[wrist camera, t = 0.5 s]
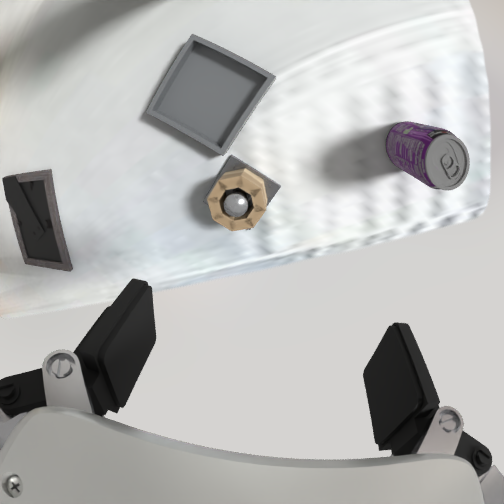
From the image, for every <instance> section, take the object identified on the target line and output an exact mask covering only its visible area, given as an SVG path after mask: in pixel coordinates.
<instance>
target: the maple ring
mask: <svg viewBox="0 0 504 504" xmlns="http://www.w3.org/2000/svg"><path fill="white" fill-rule="evenodd" d="M233 188H241V189H242V190H244V191H246V192H247V193H249V194H250V195H251V197H252V201H253V203H252V205H251V206H250V207H248V208H247V211H246V213H245V214H244V215H242V216H240V217H233V216H230V215H229V214H227V212H226V211H225V209H224V201H225V199H226V198H227V197H226V193H225V190H229V189H233ZM207 201H208V204H209V208H210V211H211V215H212V218H213V220H214V221H216V222H217V223H219V224H221V225H222V226H224V227H226V228H227V229H229V230H231V231H236V230H242V229H248V228H254V226H255V225H256V223H257V222H258V221H259V219H260V218H261V216H262V215H263V214H264V212H265V211H266V206H267V195H266V190H265V185H264V181H263V179H262V178H260V177H259V176H257V175H255V174H254V173H252V172H251V171H249V170H247V169H246V168H244V169H239V170H234V171H229V172H225V173H224V174H223V175H222V176H221V178H220V179H219V180H218V182H217V183H216V185H215V187H214V188H213V190H212V192H211V193H210V195H209V197H208V198H207Z"/></svg>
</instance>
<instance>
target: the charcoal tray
mask: <svg viewBox="0 0 504 504" xmlns="http://www.w3.org/2000/svg"><path fill="white" fill-rule="evenodd" d="M275 79H276V76H274V75H273V74H271V73H269V72H267V71H266V70H264V69H262V68H260V67H259V66H257V65H255V64H253V63H251V62H250V61H248V60H246V59H244V58H242V57H240V56H238V55H236V54H234V53H232V52H230V51H228V50H226V49H224V48H222V47H220V46H218V45H216V44H214V43H212V42H210V41H207V40H205V39H203V38H201V37H198V36H196V35H194V34H192V35H191V36H190V38H189V39H188V41H187V42H186V44H185V45H184V47H183V48H182V50H181V51H180V53H179V55H178V56H177V58H176V59H175V61H174V63H173V64H172V66H171V68H170V69H169V71H168V73H167V74H166V76H165V78H164V80H163V81H162V83H161V85H160V87H159V88H158V90H157V92H156V94H155V96H154V98H153V100H152V101H151V103H150V105H149V107H148V109H147V111H146V113H148V114H150V115H152V116H153V117H155V118H157V119H159V120H161V121H163V122H165V123H166V124H168V125H170V126H172V127H174V128H175V129H177V130H179V131H181V132H183V133H184V134H186V135H188V136H190V137H191V138H193V139H195V140H197V141H198V142H200V143H202V144H203V145H205V146H207V147H209V148H210V149H212V150H214V151H215V152H217V153H219V154H220V155H222V156H223V155H224V154H226V153H227V151H228V149H229V148H230V146H231V145H232V143H233V141H234V140H235V138H236V137H237V135H238V134H239V132H240V131H241V129H242V128H243V126H244V125H245V123H246V121H247V120H248V118H249V117H250V115H251V114H252V112H253V111H254V110H255V108H256V107H257V105H258V104H259V102H260V101H261V99H262V98H263V96H264V95H265V94H266V92H267V91H268V89H269V88H270V86H271V85H272V84H273V82H274V81H275Z"/></svg>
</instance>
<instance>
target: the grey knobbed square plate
mask: <svg viewBox="0 0 504 504" xmlns="http://www.w3.org/2000/svg"><path fill="white" fill-rule="evenodd" d="M244 168H246V169H247V170H249V171H251V172H252V173H254V174H255V175H257V176H259V177H260V178H262V179H263V181H264V185H265V190H266V195H267V205H268V204H269V202H270V201H271V200H272V198H273V197H274V196H275V194H276V193H277V191H278V190H279V189H280V187H281V186H280V185H279V184H277V183H276V182H274V181H273V180H271V179H270V178H268V177H267V176H265V175H263V174H262V173H260V172H259V171H257V170H256V169H254V168H252V167H251V166H249V165H248V164H246V163H244V162H243V161H241V160H240V159H238V158H236V157H235V156H233V155H231V157H230V158H229V160H228V161H227V163H226V165H225V166H224V168H223V169H222V171H221V173H220V174H219V176H218V178H217V179H216V181H215V182H214V184H213V186H212V187H211V189H210V191H209V192H208V194H207V196H206V197H205V199H204V201H203V202H205V203H206V204H208V201H207V198H208V197H209V195H210V193H211V192H212V190H213V188H214V187H215V185H216V183H217V182H218V180H219V179H220V178H221V176H222V175H223V174H224V173H225V172H229V171H234V170H239V169H244ZM225 193H226V197H227V198H226V199H225V201H224V209H225V211H226V212H227V214H229V215H230V216H233V217H240V216H242V215H244V214H245V213H246V211H247V208H248V207H250V206H251V205H252V203H253V201H252V197H251V195H250V194H249V193H247V192H246V191H244V190H242V189H241V188H233V189H229V190H225ZM208 205H209V204H208ZM266 207H267V206H266ZM248 229H249V230H250V229H251V228H248Z"/></svg>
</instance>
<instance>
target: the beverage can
mask: <svg viewBox="0 0 504 504" xmlns="http://www.w3.org/2000/svg"><path fill="white" fill-rule="evenodd" d="M386 149H387V153H388V156H389V158H390V160H391V161H392V162H393V164H394V165H396V166H397V167H398V168H400V169H402V170H403V171H405V172H407V173H408V174H410V175H412V176H413V177H415V178H417V179H418V180H420V181H421V182H423V183H424V184H426V185H428V186H429V187H431V188H434V189H442V190H453V189H455V188H457V187H459V186H460V185H461V184H462V183H463V181H464V180H465V178H466V176H467V174H468V171H469V163H470V161H469V154H468V151H467V148H466V146H465V145H464V143H463V142H462V141H461V140H460V139H459V138H457V137H456V136H455V135H454V134H453V133H451V132H450V131H448V130H445V129H442V128H437V127H433V126H428V125H424V124H419V123H414V122H401V123H398V124H397V125H395V126H394V127H393V128H392V129H391V130H390V132H389V134H388V137H387V141H386Z"/></svg>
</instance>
